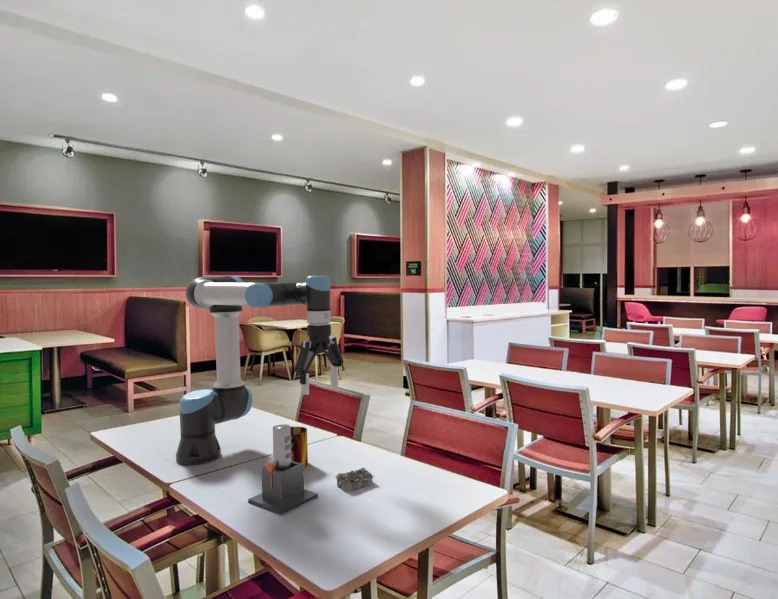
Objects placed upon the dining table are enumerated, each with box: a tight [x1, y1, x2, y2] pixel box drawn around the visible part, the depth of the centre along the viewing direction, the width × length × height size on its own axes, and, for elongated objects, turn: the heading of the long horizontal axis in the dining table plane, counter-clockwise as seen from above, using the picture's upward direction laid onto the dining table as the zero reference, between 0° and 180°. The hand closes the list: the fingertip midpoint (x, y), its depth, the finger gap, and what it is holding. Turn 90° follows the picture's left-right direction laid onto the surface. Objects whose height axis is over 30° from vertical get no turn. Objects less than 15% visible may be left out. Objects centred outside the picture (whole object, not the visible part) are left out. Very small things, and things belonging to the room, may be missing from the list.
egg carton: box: [334, 467, 375, 492], centre depth 161 cm, size 11×8×4 cm
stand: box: [247, 461, 319, 516], centre depth 151 cm, size 14×14×12 cm
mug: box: [290, 425, 309, 469], centre depth 177 cm, size 10×14×12 cm
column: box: [272, 424, 292, 471], centre depth 151 cm, size 6×6×20 cm
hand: (320, 390), depth 168 cm, fingers open, 13 cm apart
